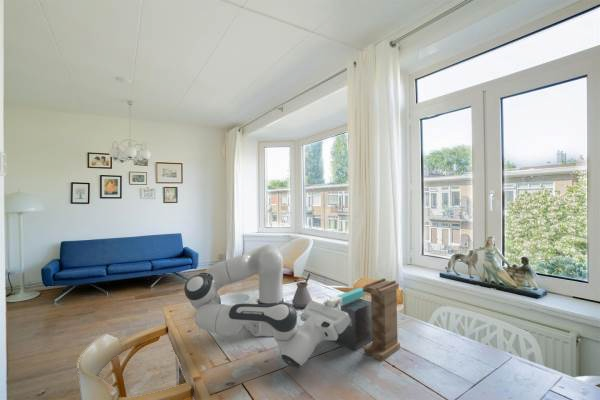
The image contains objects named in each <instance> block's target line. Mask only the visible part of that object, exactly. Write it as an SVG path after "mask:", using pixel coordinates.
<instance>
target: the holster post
mask: <svg viewBox="0 0 600 400" xmlns="http://www.w3.org/2000/svg"><path fill="white" fill-rule="evenodd" d="M386 279H387V278H384V277H383V278H381V279H378V280H375V281H372V282H369V283H367V284H365V285H362V288H363V292H365V293H367V294H370V302H371V312H372V342H370V343H368V344H367V345H365V346H364V347H363V349H364V351H363V352H364V354H365V355H369V356H371V357H373V358H375V359H377V360H379V361H381V362H384V361H385V360H386V359H388V358H389V357H390V356H392V355H393V354H394V353H396V352H397V351H398V350H399V349H401V343H400V342H399V341H398V304H397V303H398V302H397V301H398V300H397V299H398V298H397V290H398V289H399V283H398V282H397V281H396V280H391V281H388V280H386Z"/></svg>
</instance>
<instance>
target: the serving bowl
mask: <svg viewBox="0 0 600 400" xmlns="http://www.w3.org/2000/svg"><path fill="white" fill-rule="evenodd" d="M219 296H220V299H221V304H224V305H236V304H251V300H252V298H251V297H252V296H251V295H249V294H247V293H246V294H245V293H239V292H238V293H237V292H235V293H226V294H222V295H219Z"/></svg>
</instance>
